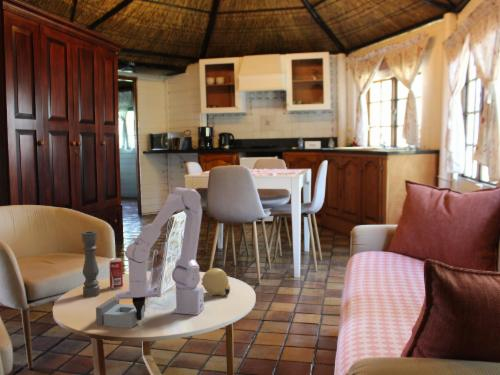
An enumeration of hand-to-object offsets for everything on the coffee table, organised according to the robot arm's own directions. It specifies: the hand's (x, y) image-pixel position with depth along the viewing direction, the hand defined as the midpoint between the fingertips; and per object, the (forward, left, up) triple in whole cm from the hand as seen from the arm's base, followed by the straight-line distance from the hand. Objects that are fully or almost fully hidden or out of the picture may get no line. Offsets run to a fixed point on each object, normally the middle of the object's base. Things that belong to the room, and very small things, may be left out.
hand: (139, 319), depth 163 cm
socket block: (+6, -1, -2) cm, 6 cm away
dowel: (+5, -11, -2) cm, 12 cm away
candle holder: (+32, -24, -2) cm, 40 cm away
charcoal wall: (+12, -1, -1) cm, 12 cm away
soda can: (+27, -35, -2) cm, 44 cm away
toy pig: (-16, -35, -2) cm, 39 cm away
